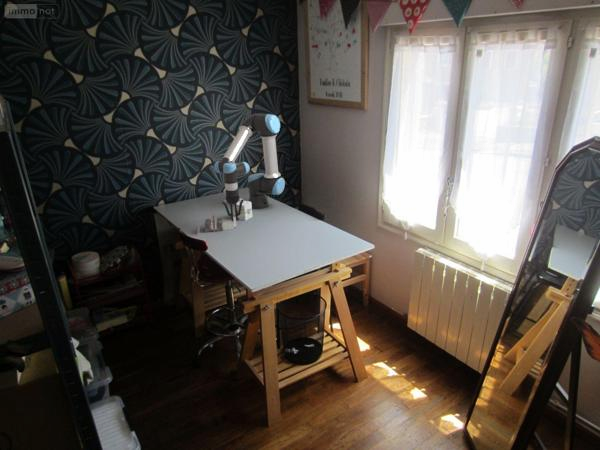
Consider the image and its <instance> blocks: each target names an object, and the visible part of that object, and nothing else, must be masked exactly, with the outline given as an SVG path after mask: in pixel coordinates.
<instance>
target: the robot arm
mask: <svg viewBox="0 0 600 450" xmlns="http://www.w3.org/2000/svg"><path fill="white" fill-rule="evenodd" d="M280 129H281V122H280V119H279V118H278V116H277V115H275V114H270V113H268V114H267V113H266V114H263V113H254V114H251V115H250V116H248V117H246V118H245V119H244V120H243V122H241V124H240V125H239V127H238V132H237V133H236V135H235V137H234V138H233V140H232V142H231V144H230V145H229V147H228V148H227V150H226V152H225V153H224V155H223V157H222V158H221V160H217V161H216V162H215V163H214V165H213V169H214V171H215V173H217V174H221V175H223V179H224V189H225V199H224V200H222V204H223V206H224V208H225V211H226V213H227V216H228V217H230V219H231V221H234V228H235V227H237V222H238V220H239V219H238V215H240V213H241V207H242V203H243V201H244V199H243V198H241V197H240V194H239V187H238V186H239V185H238V184H239V183H238V178H240V177H241V176H245V175H246V174H248V173H249V172H250V170H251V169H250V165H249V163H247V162H246V161H241V162H236V160H237V158H238V157H239V155H240V153H241V152H242V150H243V149H244V147H245V145H246V143H247V142H248V140H249V138H250V137H252V136H253V135H254V133H258V134H259V137H260V139H261V140H262V141H261V142H262V148H263V149H262V150H263V159H264V161H263V162H264V169H265V170H264V171H265V173H263V172H260V173H259V172H258V173H253V174H250V175H249V176H248V177H247V178H248V180H247V183H248V191H249V192H248V193H249V197H248V200H247V201H250V202H251V203H252V210H259V209H266V208H268V207H269V206H270V202H269V199H268V196H267V194H269V195H275V196H276V195H277V196H279V195H281V194H282V193H283V192H284V190H285V185H286V181H285V179H284V178H283V177H282V175H281V173H280V172H279V166H278V154H277V142H276V137H277V136H278V134H279V132H280ZM238 201H239V202H240V205H239V211H238V213H237V205H236V204H237V202H238ZM227 203H228V204H229V207H228V204H227ZM233 206H235V210H233V209H234V207H233ZM229 208H230V210H229Z"/></svg>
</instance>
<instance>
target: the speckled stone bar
mask: <svg viewBox="0 0 600 450" xmlns="http://www.w3.org/2000/svg"><path fill="white" fill-rule="evenodd" d="M210 228H211V232H213V223H212V222H211V223H210ZM214 228H215V232H216V231H217V221H215V222H214ZM222 229H223V231H225V230H226V231H227V230H228V231H229V230H235V227H234V221H232V220H224V221H223V220H222Z"/></svg>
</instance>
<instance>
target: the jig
mask: <svg viewBox="0 0 600 450" xmlns="http://www.w3.org/2000/svg"><path fill="white" fill-rule="evenodd" d="M215 220H216V221H215ZM211 221H212V223H213V231H211V228H210V223H211ZM214 222H217V230H216V231H217V232H223V231H224V230H223V229H222V222H223V218H222V217H217V218H216V219H215V215H214V214H213V215H212V219H211V218H205V221H204V228H205V233H211V232H213V233H215V232H216V231H215V228H214Z"/></svg>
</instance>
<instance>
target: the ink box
mask: <svg viewBox="0 0 600 450" xmlns="http://www.w3.org/2000/svg"><path fill="white" fill-rule="evenodd" d="M236 205H237V213H238V211H239V205H240V202H239V201H238V202H237V204H236ZM233 206H234V205H233ZM233 209H234V210H233V211H235V206H234V207H233ZM253 216H254V215H253V209H252V203H251V202H250V201H248V200H243V203H242V207H241V213H240V215H238V220H240V221H247V220H250V219H251V218H253Z"/></svg>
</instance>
